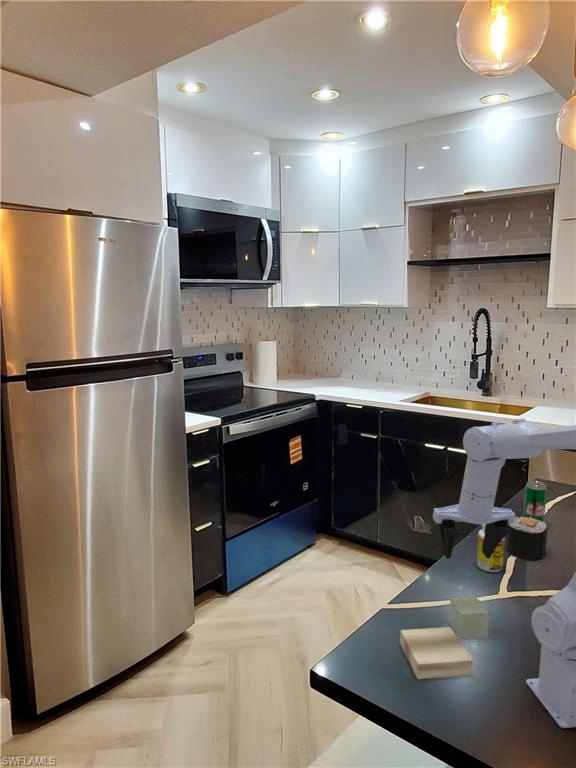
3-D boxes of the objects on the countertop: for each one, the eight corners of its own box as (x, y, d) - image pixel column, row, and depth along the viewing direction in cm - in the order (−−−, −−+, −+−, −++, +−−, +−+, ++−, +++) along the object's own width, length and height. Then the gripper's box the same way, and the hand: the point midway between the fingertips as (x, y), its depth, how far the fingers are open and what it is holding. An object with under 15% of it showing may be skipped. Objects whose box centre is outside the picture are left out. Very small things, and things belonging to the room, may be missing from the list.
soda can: (524, 529, 141) (527, 485, 139) (521, 521, 146) (524, 479, 144) (545, 531, 140) (548, 487, 138) (542, 523, 145) (545, 481, 143)
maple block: (471, 677, 86) (472, 660, 86) (417, 681, 85) (418, 664, 85) (449, 642, 95) (450, 626, 95) (400, 645, 94) (400, 630, 94)
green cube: (487, 638, 96) (489, 612, 95) (460, 640, 95) (461, 614, 94) (474, 621, 101) (476, 597, 100) (449, 623, 100) (450, 598, 99)
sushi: (548, 551, 129) (551, 519, 127) (538, 564, 122) (541, 531, 121) (513, 541, 134) (515, 511, 133) (502, 553, 127) (504, 521, 126)
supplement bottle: (492, 575, 117) (495, 531, 116) (471, 565, 122) (473, 522, 120) (508, 569, 120) (511, 525, 119) (486, 559, 125) (489, 517, 123)
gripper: (506, 479, 100) (493, 542, 104) (431, 478, 98) (421, 542, 102) (526, 498, 93) (511, 565, 97) (446, 497, 91) (434, 565, 96)
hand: (466, 555), depth 99 cm, fingers open, 7 cm apart
